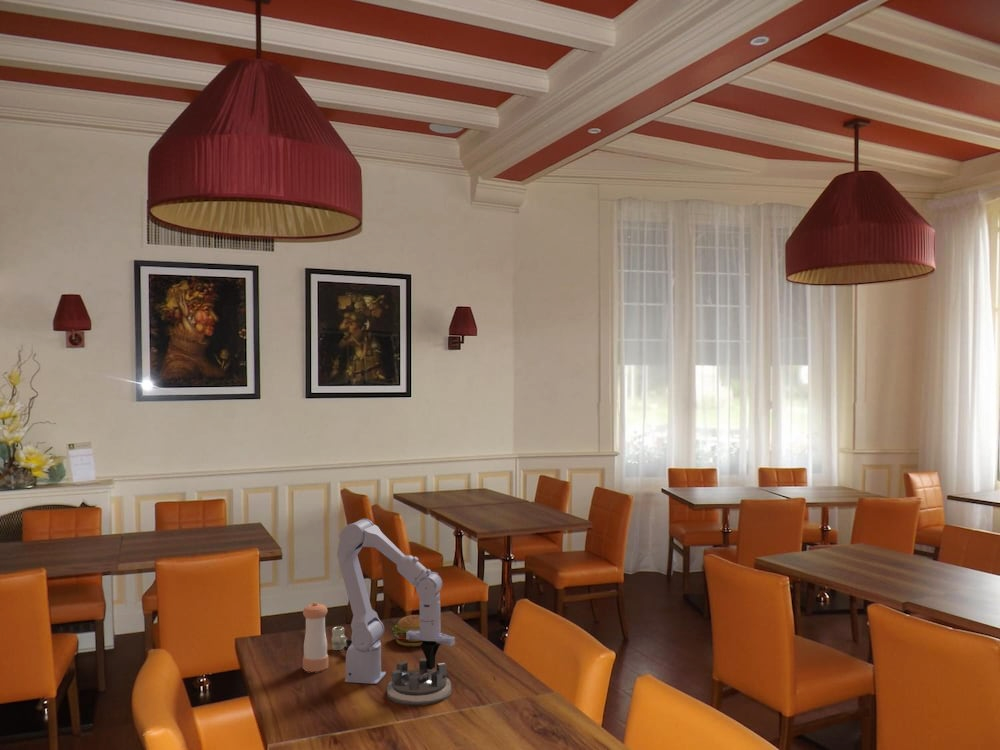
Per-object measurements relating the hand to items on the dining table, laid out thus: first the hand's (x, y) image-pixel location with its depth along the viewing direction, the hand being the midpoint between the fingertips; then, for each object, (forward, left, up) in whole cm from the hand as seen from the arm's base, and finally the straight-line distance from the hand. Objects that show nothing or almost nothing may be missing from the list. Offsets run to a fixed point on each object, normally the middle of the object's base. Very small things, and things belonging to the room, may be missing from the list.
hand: (430, 668), depth 210 cm
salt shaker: (-37, +6, -5) cm, 37 cm away
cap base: (-2, -6, -4) cm, 8 cm away
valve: (-33, +20, -5) cm, 39 cm away
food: (-15, +33, -5) cm, 36 cm away
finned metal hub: (-2, -6, -2) cm, 7 cm away
